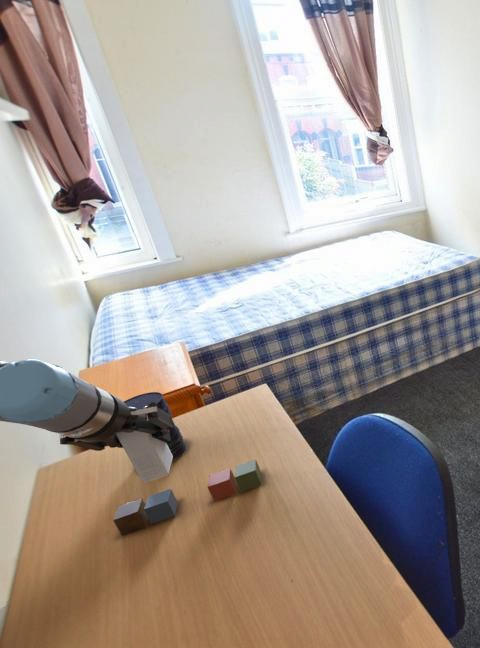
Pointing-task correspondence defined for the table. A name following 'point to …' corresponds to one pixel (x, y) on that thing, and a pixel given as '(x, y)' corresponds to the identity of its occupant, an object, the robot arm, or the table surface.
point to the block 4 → (248, 475)
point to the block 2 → (161, 506)
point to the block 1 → (131, 516)
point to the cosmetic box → (146, 454)
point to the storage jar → (143, 400)
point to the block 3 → (222, 484)
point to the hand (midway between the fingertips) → (153, 440)
